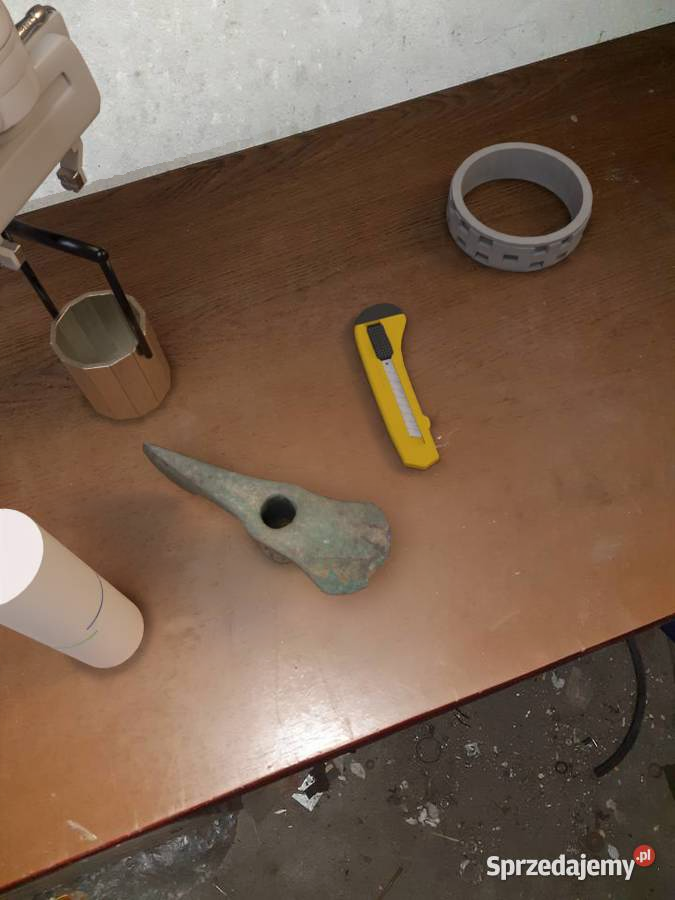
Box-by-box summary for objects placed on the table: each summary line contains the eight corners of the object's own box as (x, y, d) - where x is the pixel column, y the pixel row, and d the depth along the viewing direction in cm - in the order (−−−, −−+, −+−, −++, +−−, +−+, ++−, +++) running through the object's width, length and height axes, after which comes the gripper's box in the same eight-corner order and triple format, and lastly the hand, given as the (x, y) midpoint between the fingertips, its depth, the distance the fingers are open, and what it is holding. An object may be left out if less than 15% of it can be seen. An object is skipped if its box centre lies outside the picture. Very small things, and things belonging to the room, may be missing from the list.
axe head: (137, 519, 75) (107, 483, 66) (184, 447, 79) (162, 404, 70) (361, 632, 69) (361, 609, 60) (401, 549, 73) (407, 516, 64)
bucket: (194, 366, 84) (153, 434, 80) (106, 334, 86) (62, 399, 82) (134, 211, 61) (73, 295, 57) (17, 174, 63) (-49, 253, 59)
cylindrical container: (157, 616, 70) (64, 535, 48) (116, 681, 68) (-3, 628, 45) (100, 584, 72) (-16, 492, 49) (58, 647, 69) (-85, 579, 47)
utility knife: (397, 305, 87) (398, 295, 85) (461, 461, 77) (463, 453, 75) (345, 319, 86) (344, 309, 84) (403, 477, 76) (404, 470, 75)
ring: (420, 199, 94) (423, 170, 90) (532, 154, 98) (540, 123, 93) (493, 293, 87) (500, 266, 83) (610, 241, 90) (624, 212, 86)
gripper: (15, -19, 52) (79, 135, 65) (-168, 162, 44) (-54, 298, 57) (86, -1, 51) (138, 153, 64) (-89, 189, 43) (10, 322, 56)
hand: (46, 223), depth 60 cm, fingers open, 8 cm apart
